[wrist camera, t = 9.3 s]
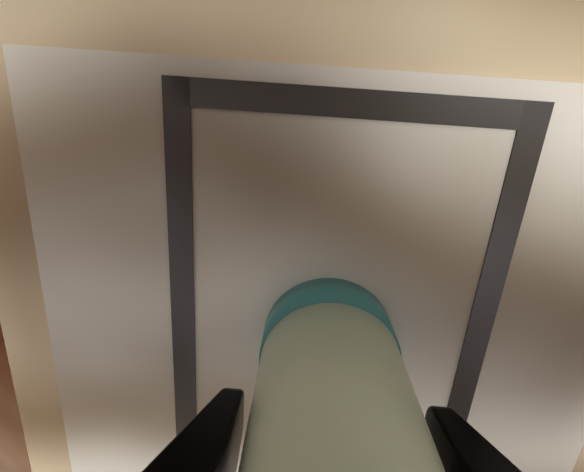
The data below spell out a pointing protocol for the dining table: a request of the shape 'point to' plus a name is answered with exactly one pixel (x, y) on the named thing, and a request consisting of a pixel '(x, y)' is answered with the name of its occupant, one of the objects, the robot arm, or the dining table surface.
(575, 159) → the board
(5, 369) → the dining table surface
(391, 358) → the teal-banded white cylinder
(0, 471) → the dining table surface
